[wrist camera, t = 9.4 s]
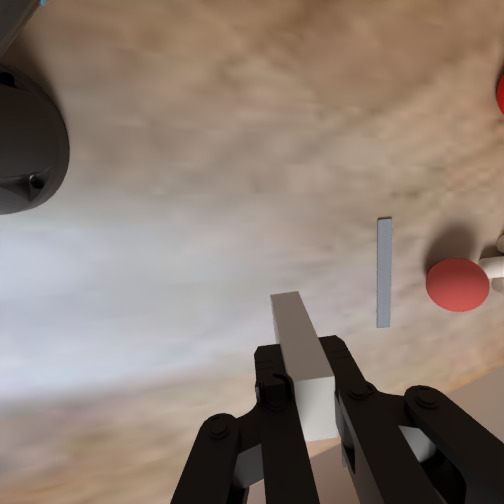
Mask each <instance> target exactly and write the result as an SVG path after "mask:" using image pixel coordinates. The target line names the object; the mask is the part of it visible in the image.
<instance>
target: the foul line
mask: <svg viewBox="0 0 504 504" xmlns="http://www.w3.org/2000/svg"><path fill="white" fill-rule="evenodd" d="M391 255H392V218H390V219H381V220H378V221H377V328H384V327H390V307H391Z"/></svg>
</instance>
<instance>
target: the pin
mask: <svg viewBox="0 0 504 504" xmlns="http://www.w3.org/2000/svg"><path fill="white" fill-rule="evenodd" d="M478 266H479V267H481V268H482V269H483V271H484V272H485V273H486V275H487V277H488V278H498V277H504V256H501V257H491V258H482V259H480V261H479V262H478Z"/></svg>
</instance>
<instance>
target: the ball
mask: <svg viewBox="0 0 504 504" xmlns="http://www.w3.org/2000/svg"><path fill="white" fill-rule="evenodd" d="M426 289H427V292H428V294H429V296H430V298H431V299H432V300H433V301H434V302H435V303H436V304H437V305H439V306H440V307H442V308H444V309H446V310H450V311H455V312H464V311H469V310H472V309H475V308H476V307H478V306H479V305H481V304H482V303H483V302H484V301H485V299H486V298H487V296H488V293H489V280H488V277H487V275H486V273H485V272H484V271H483V269H482V268H481V267H479V266H478V265H477V264H475V263H474V262H471V261H469V260H466V259H461V258H451V259H446V260H443V261H441V262H439V263H437V264H436V265H434V266H433V267H432V268H431V270H430V271H429V273H428V275H427V278H426Z"/></svg>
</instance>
